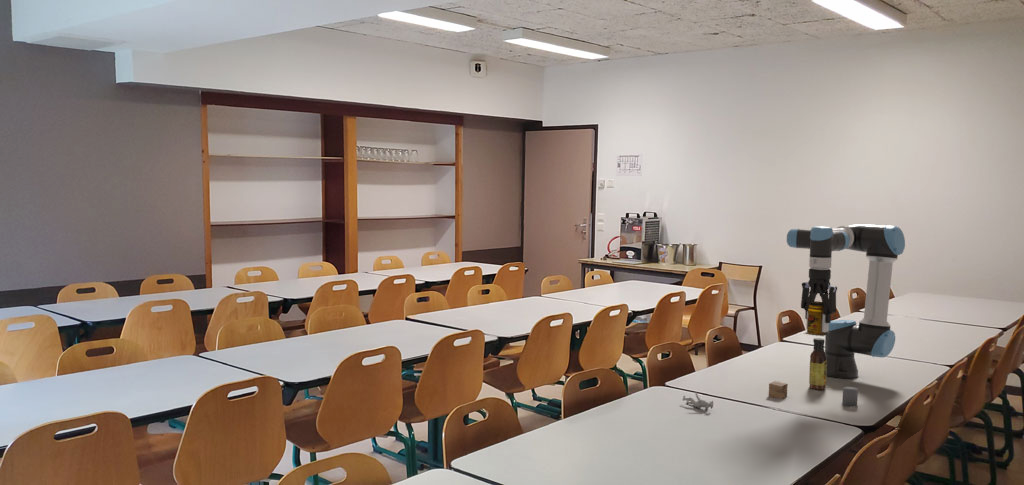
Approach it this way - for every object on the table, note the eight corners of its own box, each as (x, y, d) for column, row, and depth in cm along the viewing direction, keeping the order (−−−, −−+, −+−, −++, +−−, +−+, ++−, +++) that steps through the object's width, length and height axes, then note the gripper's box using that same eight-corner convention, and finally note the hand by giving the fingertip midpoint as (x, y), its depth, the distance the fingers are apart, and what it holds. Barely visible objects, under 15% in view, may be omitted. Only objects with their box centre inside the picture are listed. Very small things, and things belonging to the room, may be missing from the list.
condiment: (802, 334, 272) (804, 302, 271) (810, 330, 278) (811, 299, 277) (823, 336, 267) (824, 304, 266) (830, 333, 273) (832, 301, 272)
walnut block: (774, 393, 283) (774, 381, 282) (787, 396, 279) (787, 383, 279) (768, 396, 279) (769, 383, 279) (781, 399, 276) (781, 386, 275)
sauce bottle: (827, 390, 287) (829, 341, 285) (810, 389, 288) (812, 340, 286) (823, 386, 293) (826, 337, 292) (807, 385, 294) (809, 336, 293)
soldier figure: (692, 404, 271) (720, 401, 262) (689, 416, 268) (717, 413, 259) (680, 392, 268) (708, 389, 259) (677, 403, 265) (705, 400, 256)
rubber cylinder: (847, 401, 273) (848, 386, 272) (860, 405, 268) (860, 389, 268) (839, 403, 270) (840, 387, 270) (851, 407, 266) (852, 391, 265)
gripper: (791, 266, 277) (789, 326, 279) (836, 271, 260) (833, 335, 262) (804, 265, 280) (802, 324, 282) (849, 270, 264) (846, 333, 266)
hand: (817, 329), depth 272 cm, fingers closed on condiment, 6 cm apart
